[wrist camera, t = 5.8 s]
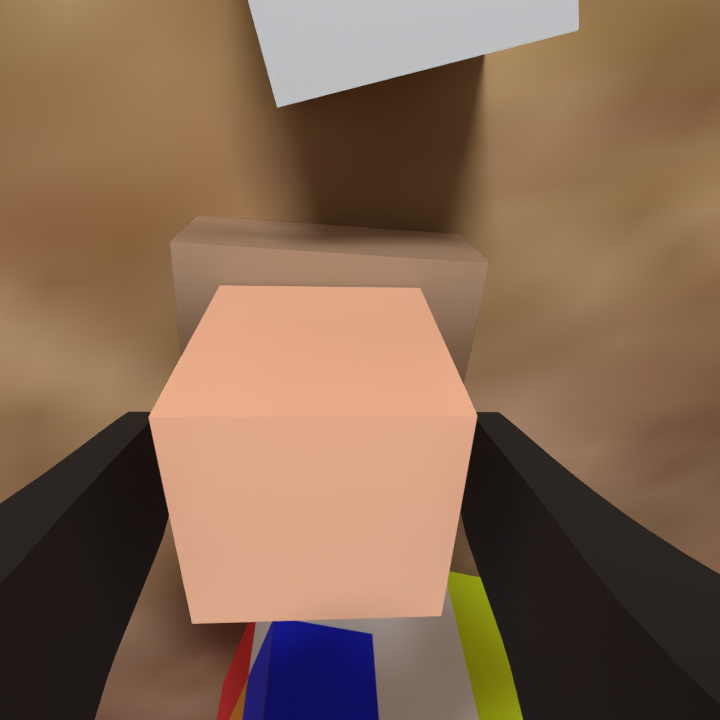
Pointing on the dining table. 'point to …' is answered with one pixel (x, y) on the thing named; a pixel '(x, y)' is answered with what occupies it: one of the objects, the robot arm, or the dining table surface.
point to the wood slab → (329, 268)
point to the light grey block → (390, 37)
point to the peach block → (314, 455)
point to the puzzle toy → (376, 666)
